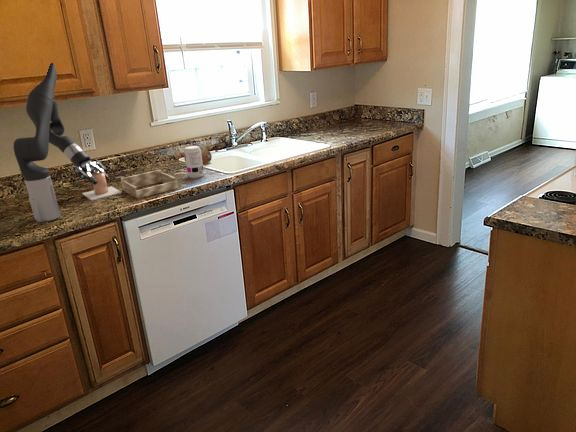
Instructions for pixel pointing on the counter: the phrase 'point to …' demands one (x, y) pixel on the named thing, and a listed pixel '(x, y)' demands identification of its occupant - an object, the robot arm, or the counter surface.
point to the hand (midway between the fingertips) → (101, 181)
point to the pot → (100, 183)
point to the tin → (205, 156)
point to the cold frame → (148, 183)
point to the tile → (93, 196)
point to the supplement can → (194, 161)
